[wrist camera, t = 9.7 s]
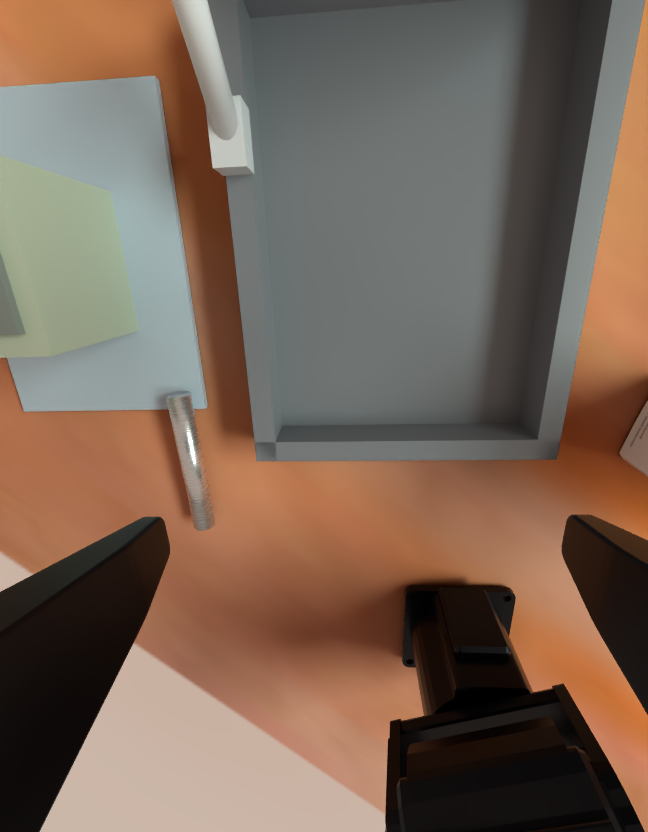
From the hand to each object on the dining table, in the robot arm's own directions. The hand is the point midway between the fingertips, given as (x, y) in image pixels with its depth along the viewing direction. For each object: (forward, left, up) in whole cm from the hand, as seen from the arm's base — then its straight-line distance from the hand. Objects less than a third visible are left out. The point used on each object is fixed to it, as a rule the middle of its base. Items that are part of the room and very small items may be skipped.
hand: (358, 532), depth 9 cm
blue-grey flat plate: (+6, +13, -12) cm, 18 cm away
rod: (-4, +9, -12) cm, 15 cm away
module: (+6, +13, -12) cm, 18 cm away
